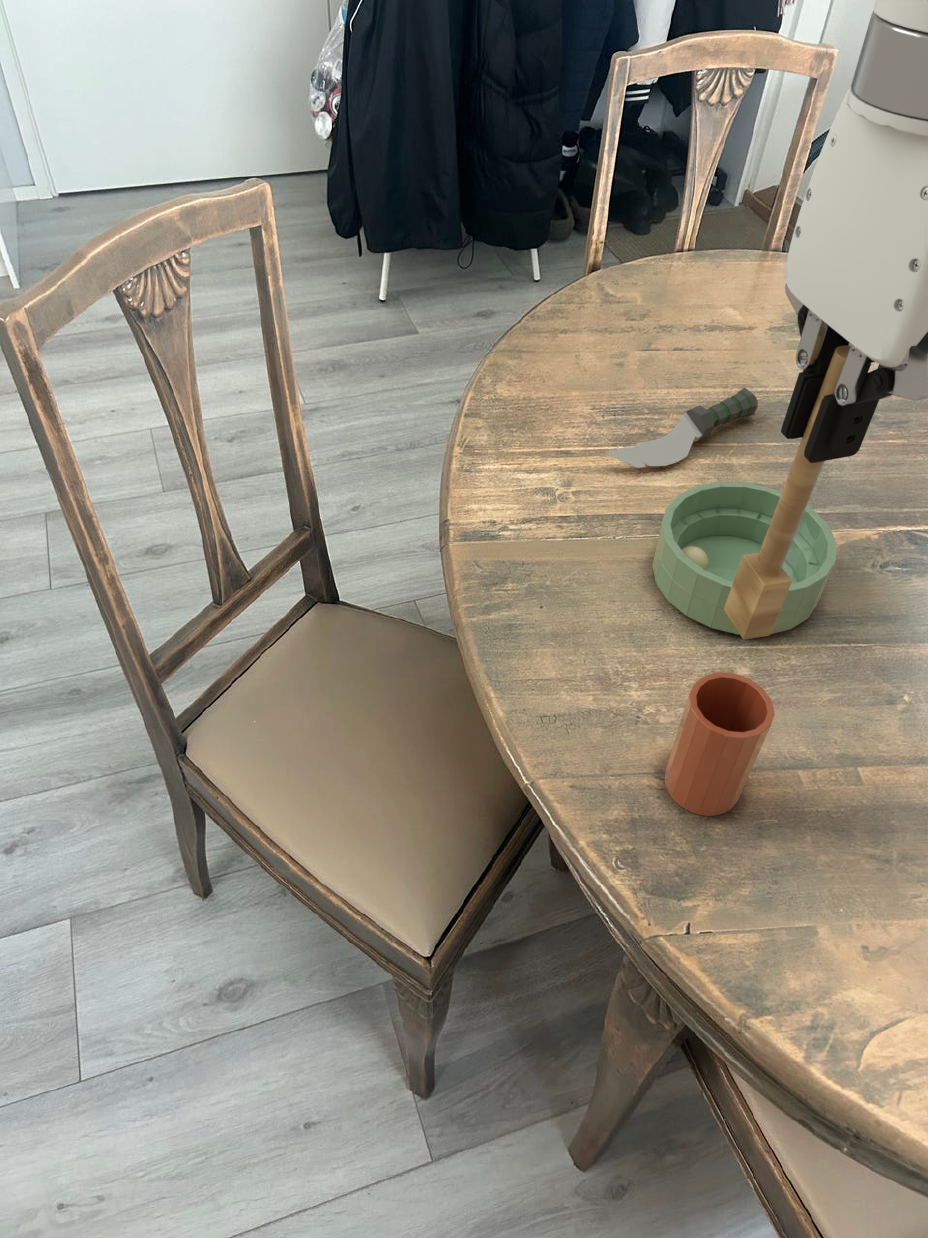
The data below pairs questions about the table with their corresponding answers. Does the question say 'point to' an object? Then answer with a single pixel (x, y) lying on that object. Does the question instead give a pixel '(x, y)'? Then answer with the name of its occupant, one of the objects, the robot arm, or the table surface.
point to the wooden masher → (778, 535)
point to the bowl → (736, 552)
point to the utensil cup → (717, 742)
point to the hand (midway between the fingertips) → (818, 442)
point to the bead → (696, 556)
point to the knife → (687, 432)
